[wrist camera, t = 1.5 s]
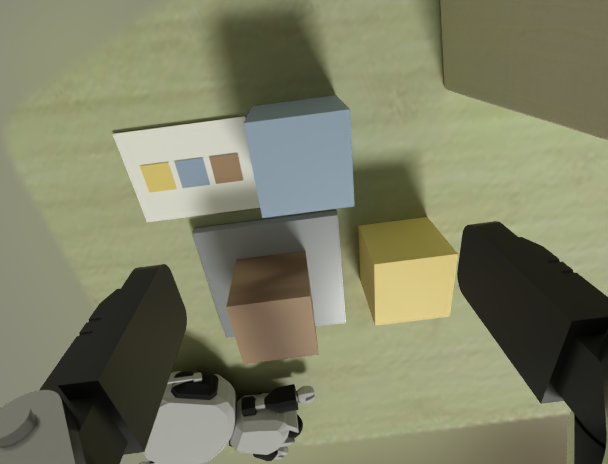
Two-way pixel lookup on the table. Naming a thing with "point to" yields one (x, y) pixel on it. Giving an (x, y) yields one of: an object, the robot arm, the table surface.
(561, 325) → the robot arm
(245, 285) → the brick walnut
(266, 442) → the robot toy
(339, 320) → the base plate
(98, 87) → the table surface
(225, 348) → the table surface
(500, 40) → the cream tall block
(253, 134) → the brick blue
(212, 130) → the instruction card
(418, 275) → the yellow cube
